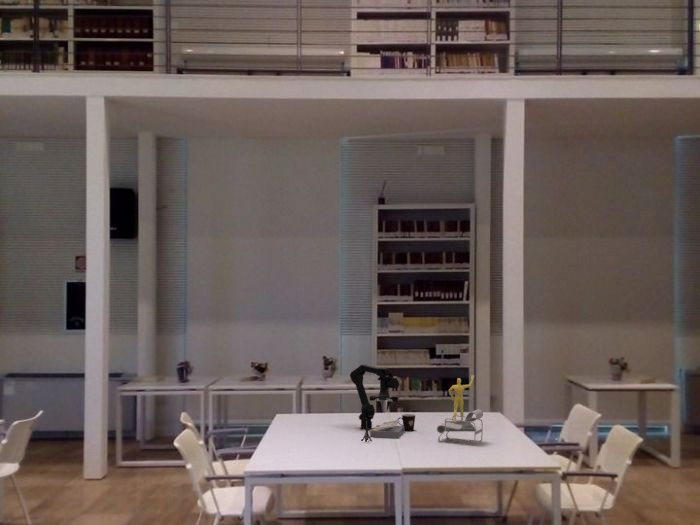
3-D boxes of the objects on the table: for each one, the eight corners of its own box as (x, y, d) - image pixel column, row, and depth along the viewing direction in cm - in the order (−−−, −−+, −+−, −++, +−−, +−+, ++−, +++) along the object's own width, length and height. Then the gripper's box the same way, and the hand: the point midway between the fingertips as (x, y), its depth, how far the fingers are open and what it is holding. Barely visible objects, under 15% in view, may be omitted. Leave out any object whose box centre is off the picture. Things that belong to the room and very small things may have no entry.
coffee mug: (415, 429, 528) (415, 414, 528) (415, 431, 519) (415, 416, 519) (397, 429, 529) (397, 413, 529) (397, 431, 520) (397, 416, 521)
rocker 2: (381, 427, 508) (380, 425, 508) (382, 426, 512) (382, 424, 512) (396, 424, 506) (395, 422, 506) (397, 423, 509) (397, 421, 510)
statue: (472, 426, 541) (471, 373, 542) (477, 431, 521) (477, 376, 522) (442, 426, 540) (441, 373, 541) (446, 431, 521) (446, 376, 522)
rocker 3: (378, 429, 501) (378, 427, 501) (380, 428, 505) (379, 426, 505) (394, 426, 499) (393, 424, 499) (395, 425, 503) (395, 423, 503)
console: (370, 437, 500) (370, 428, 500) (377, 431, 522) (377, 422, 522) (398, 438, 496) (398, 429, 496) (404, 432, 517) (404, 423, 517)
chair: (476, 446, 474) (476, 412, 475) (436, 442, 486) (436, 409, 486) (483, 442, 486) (483, 409, 487) (444, 438, 498) (444, 406, 498)
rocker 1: (383, 425, 515) (382, 423, 515) (384, 424, 518) (384, 422, 519) (398, 422, 512) (397, 420, 512) (399, 421, 516) (399, 419, 516)
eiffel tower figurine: (360, 439, 498) (360, 417, 498) (376, 439, 496) (376, 418, 496) (355, 443, 483) (355, 421, 484) (371, 444, 481) (371, 422, 481)
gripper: (367, 388, 514) (367, 413, 514) (396, 389, 510) (396, 414, 510) (371, 386, 525) (371, 410, 525) (399, 387, 521) (399, 411, 520)
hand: (384, 411), depth 520 cm, fingers open, 3 cm apart
